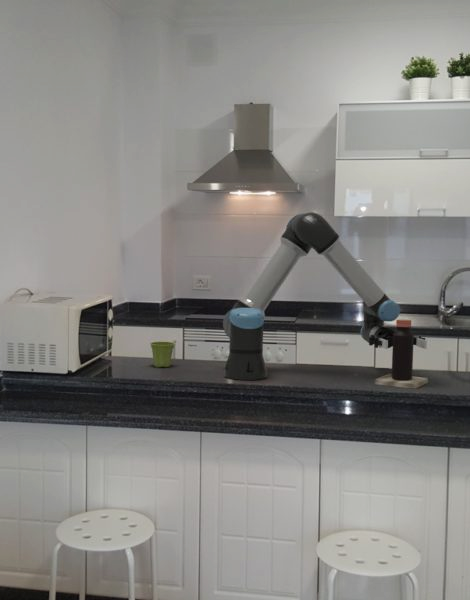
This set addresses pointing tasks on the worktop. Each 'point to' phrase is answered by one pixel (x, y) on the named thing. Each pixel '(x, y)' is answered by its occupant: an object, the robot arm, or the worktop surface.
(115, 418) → the worktop surface
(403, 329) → the vinegar
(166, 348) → the plant pot
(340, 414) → the worktop surface
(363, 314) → the robot arm
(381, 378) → the birch board
